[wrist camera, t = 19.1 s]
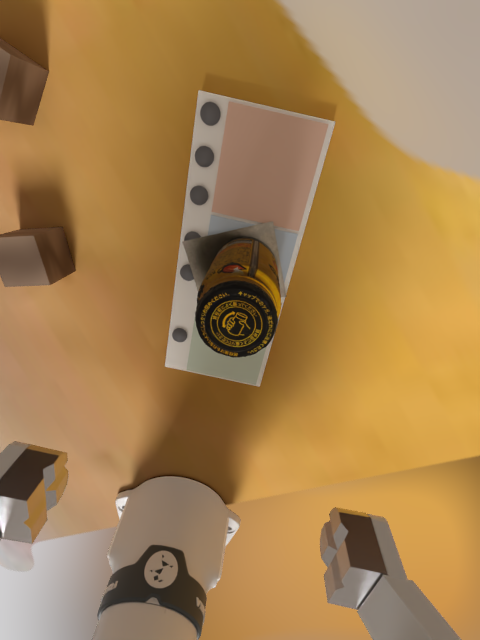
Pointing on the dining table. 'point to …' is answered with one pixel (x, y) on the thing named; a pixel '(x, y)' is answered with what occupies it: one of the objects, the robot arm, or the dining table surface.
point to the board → (242, 207)
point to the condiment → (237, 288)
